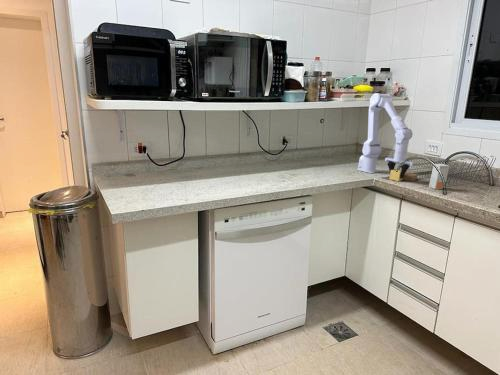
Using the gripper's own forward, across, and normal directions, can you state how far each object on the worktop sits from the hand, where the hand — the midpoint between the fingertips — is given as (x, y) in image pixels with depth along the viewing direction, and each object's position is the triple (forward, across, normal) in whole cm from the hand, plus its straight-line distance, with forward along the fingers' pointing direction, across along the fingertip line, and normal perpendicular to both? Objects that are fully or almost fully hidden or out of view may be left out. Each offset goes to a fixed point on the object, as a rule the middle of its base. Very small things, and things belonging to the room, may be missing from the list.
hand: (396, 176), depth 185 cm
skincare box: (+2, +20, +2) cm, 20 cm away
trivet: (+2, +2, +8) cm, 9 cm away
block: (+1, 0, 0) cm, 1 cm away
